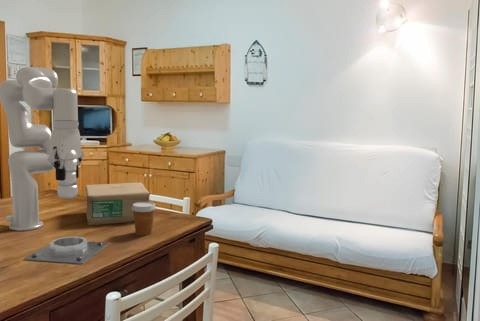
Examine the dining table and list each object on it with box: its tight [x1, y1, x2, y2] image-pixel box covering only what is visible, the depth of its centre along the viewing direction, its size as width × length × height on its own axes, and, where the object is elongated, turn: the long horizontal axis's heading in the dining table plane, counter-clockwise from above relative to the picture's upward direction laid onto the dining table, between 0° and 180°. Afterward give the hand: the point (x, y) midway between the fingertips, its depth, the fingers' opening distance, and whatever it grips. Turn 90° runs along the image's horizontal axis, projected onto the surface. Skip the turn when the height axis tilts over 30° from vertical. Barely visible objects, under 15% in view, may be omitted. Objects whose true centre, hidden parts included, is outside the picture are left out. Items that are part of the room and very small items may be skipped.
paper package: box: [85, 182, 151, 226], centre depth 195 cm, size 27×26×14 cm
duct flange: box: [24, 235, 109, 265], centre depth 147 cm, size 20×20×4 cm
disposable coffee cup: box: [132, 201, 157, 236], centre depth 171 cm, size 10×10×12 cm
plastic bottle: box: [57, 150, 79, 200], centre depth 144 cm, size 6×7×20 cm
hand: (67, 178), depth 144 cm, fingers closed on plastic bottle, 5 cm apart
